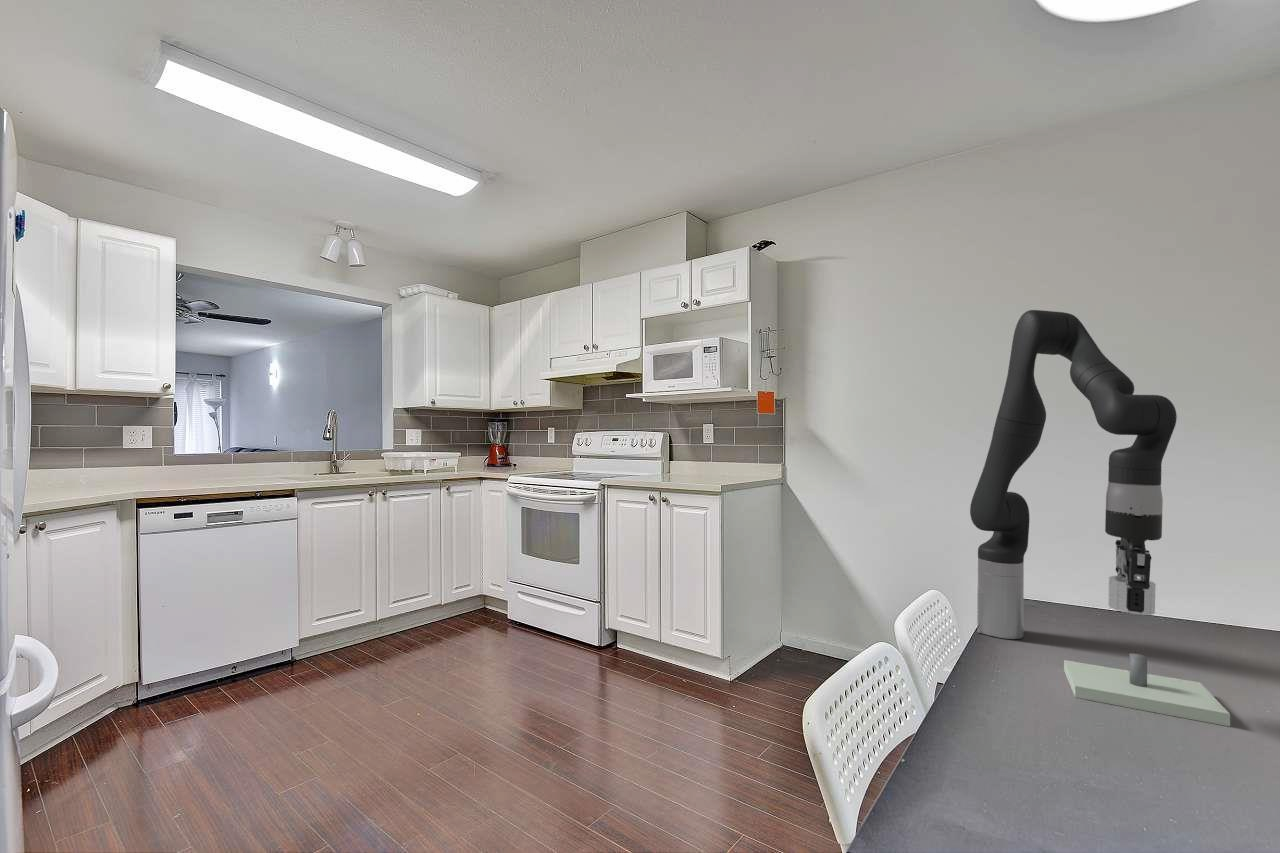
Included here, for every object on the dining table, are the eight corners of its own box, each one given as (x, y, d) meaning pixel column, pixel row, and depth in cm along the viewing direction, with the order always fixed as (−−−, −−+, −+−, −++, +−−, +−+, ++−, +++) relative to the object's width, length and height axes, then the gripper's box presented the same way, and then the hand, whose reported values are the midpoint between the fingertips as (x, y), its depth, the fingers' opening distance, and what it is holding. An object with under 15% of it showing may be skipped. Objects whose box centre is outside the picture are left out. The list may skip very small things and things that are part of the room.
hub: (1112, 610, 100) (1113, 581, 100) (1106, 601, 106) (1106, 574, 105) (1158, 617, 97) (1158, 587, 97) (1149, 607, 102) (1150, 579, 102)
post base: (1075, 697, 103) (1075, 657, 103) (1064, 670, 115) (1064, 634, 115) (1230, 726, 93) (1230, 682, 93) (1199, 693, 105) (1199, 654, 106)
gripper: (1099, 503, 109) (1097, 592, 110) (1113, 512, 97) (1110, 613, 97) (1151, 506, 106) (1149, 599, 106) (1173, 517, 93) (1170, 622, 93)
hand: (1130, 605), depth 101 cm, fingers closed on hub, 6 cm apart
